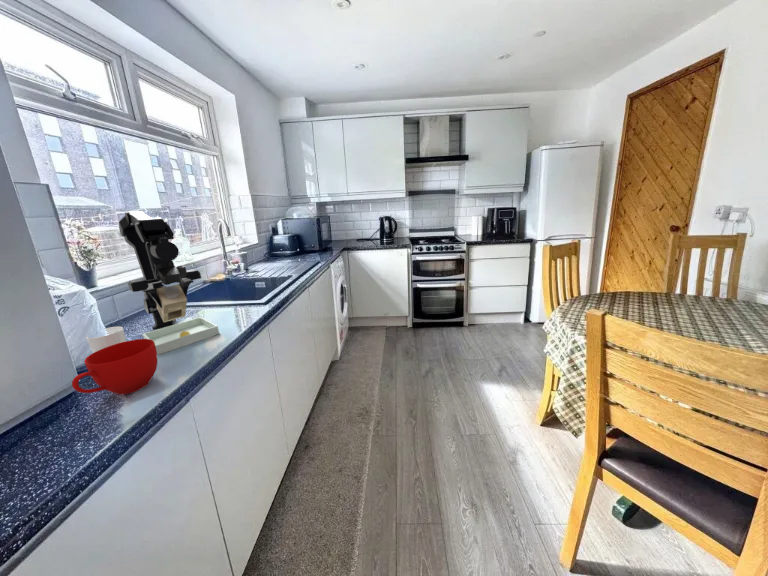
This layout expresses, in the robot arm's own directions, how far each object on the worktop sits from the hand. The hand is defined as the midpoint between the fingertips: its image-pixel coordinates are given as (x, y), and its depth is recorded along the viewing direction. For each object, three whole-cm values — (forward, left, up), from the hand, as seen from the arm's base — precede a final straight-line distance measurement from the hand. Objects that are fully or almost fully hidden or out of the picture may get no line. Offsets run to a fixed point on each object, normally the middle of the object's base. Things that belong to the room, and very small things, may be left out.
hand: (173, 304), depth 99 cm
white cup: (+11, -15, -12) cm, 22 cm away
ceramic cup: (+31, -7, -12) cm, 34 cm away
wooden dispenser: (-5, -2, -4) cm, 7 cm away
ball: (+5, +2, -10) cm, 11 cm away
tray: (+1, 0, -12) cm, 12 cm away
